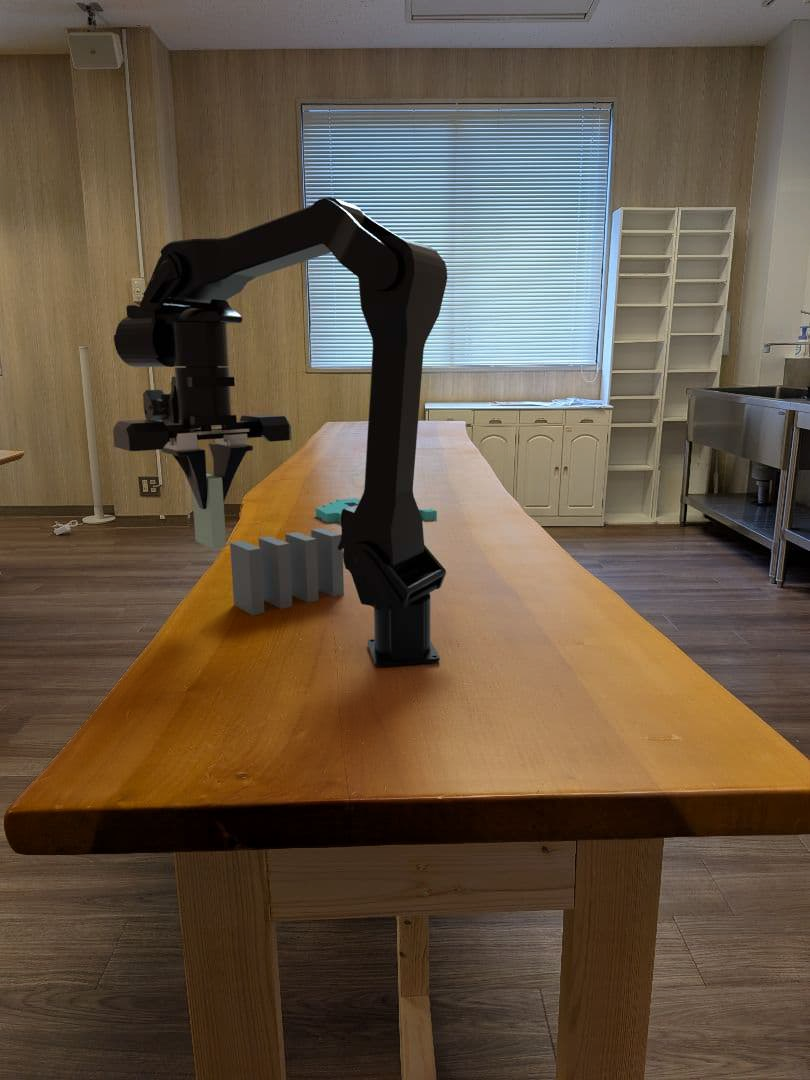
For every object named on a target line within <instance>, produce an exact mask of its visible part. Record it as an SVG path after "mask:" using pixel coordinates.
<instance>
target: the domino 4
mask: <svg viewBox="0 0 810 1080" xmlns="http://www.w3.org/2000/svg"><path fill="white" fill-rule="evenodd" d="M310 531H311V532H310V537H313V538H315V539H317V565H318V592H321V593H323V594H325V595H328V596H330V597H333V598H336V597H339V596H343V595H344V596H345V587H344V586H345V585H344V561H343V549H341V550H338V545H339V543H340V541H341V535H342V533H339V532H336V531H332V530H329V529H327V528H326V529H325V528H323V527H320V528H313V529H310Z"/></svg>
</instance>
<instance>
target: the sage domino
mask: <svg viewBox="0 0 810 1080" xmlns="http://www.w3.org/2000/svg"><path fill="white" fill-rule="evenodd" d="M206 477H207V506H206V509H201V508H200V507H199V505H198V503H197V500H196V498H195V496H194V493H193V491H192V490H191V495H192V498H191V499H192V509H193V522H194V524H193V525H194V536H195V542H197V543H200V544H201V545H203V546H206V547H208V548H210V549H213V550H215V549H222V548H226V547H227V539H226V538H227V534H226V521H225V506H224V505H225V501H224V502H223V486H222V477H218V476H214V474H209V473H207V472H206Z"/></svg>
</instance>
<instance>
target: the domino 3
mask: <svg viewBox="0 0 810 1080" xmlns="http://www.w3.org/2000/svg"><path fill="white" fill-rule="evenodd" d="M284 536H285V542H287V543H290V564H291V587H292V597H294V598H297V599H299V600H301V601H303V602H304V603H307V604H309V603H313V602H318V601H319V600H320V599H319V597H320V596H319V594H320V593H319V590H318V565H317V539H315V538H313V537H311V535H310V536H309V535H307V534H305V533H300V532H297V531H296V532H295V531H293V532H289V533H284Z"/></svg>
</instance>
